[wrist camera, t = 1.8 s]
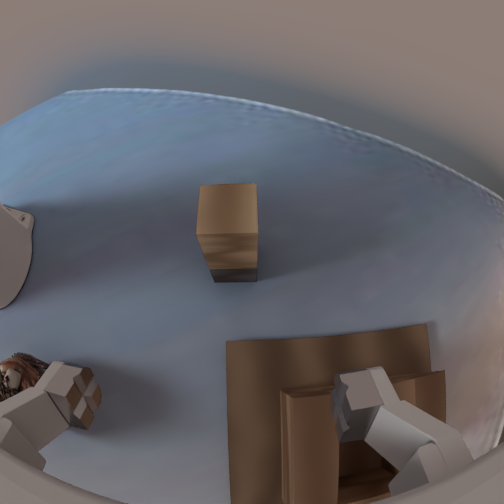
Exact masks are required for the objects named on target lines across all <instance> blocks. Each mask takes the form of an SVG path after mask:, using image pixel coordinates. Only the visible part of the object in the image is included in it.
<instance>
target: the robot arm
mask: <svg viewBox="0 0 504 504" xmlns="http://www.w3.org/2000/svg"><path fill="white" fill-rule="evenodd" d="M33 224H34V217H33V216H32V215H31V214H29V213H25V212H22V211H18V210H15V209H12V208H8V207H5V206H3V205H2V204H1V203H0V309H1V308H4V307H5V306H7V305H8V304H9V303H10V302H11V301H12V300H13V299H14V298H15V297H16V295H17V294H18V292H19V291H20V289H21V287H22V285H23V283H24V281H25V278H26V276H27V273H28V270H29V266H30V262H31V256H32V239H31V233H32V229H33ZM93 376H94V375H93V373H92V371H91V369H90V368H88V367H84V366H79V365H75V364H71V363H66V362H61V361H57V360H56V361H53V362H52V363H51V365H50V366H49V367H48V369H47V370H46V371H45V373H44V374H43V375H42V377H41V378H40V379H39V381H38V382H37V384H36V385H35V386H34V387H29V388H28V389H26V390H24V391H22V392H20V393H18V394H16V395H14V396H12V397H10V398H8V399H6V400H4V401H2V402H0V504H128V503H124V502H120V501H117V500H113V499H110V498H107V497H104V496H101V495H98V494H95V493H92V492H89V491H86V490H84V489H81V488H79V487H76V486H73V485H71V484H69V483H66V482H64V481H62V480H59V479H57V478H55V477H53V476H51V475H49V474H47V473H44V472H42V471H43V468H44V466H45V464H46V460H45V458H44V457H43V456H42V455H41V454H40V453H39V452H38V451H39V450H41V449H42V448H43V447H45V446H46V445H47V444H48V443H50V442H51V441H52V440H53V439H55V438H56V437H57V436H58V435H60V434H61V433H62V432H63V431H65V430H66V429H67V428H68V427H69V425H70V426H74V427H77V428H81V429H85V430H88V429H89V426H90V424H91V422H92V420H93V418H94V416H93V411H95V410H96V409H98V407H99V405H100V403H101V390H100V387H99V385H98V384H97V383H96V382H95V381H94V380H93V379H92V378H93ZM333 382H334V385H335V388H334V389H333V390H332V391H331V395H330V410H331V414H332V417H333V418H334V419H336V420H337V423H336V426H335V430H336V433H337V437H338V441H339V443H345V442H351V441H357V440H362V439H364V441H365V442H367V443H368V444H369V445H370V446H371V447H372V448H373V449H375V450H376V451H377V452H378V453H379V454H380V455H381V456H383V457H384V458H385V459H386V460H387V461H388V462H390V463H391V464H392V465H393V466H394V467H395V468H397V469H398V470H399V473H398V474H397V475H396V476H395V477H394V478H393V479H392V480H391V482H390V483H389V484H388V486H389V490H390V493H391V497H388V498H385V499H382V500H378V501H375V502H371V503H367V504H504V442H503V443H501V444H500V445H498V446H497V447H495V448H494V449H492V450H491V451H489V452H487V453H486V454H484V455H482V456H481V457H479V458H477V459H476V460H474V459H473V457H472V455H471V453H470V451H469V450H468V448H467V446H466V444H465V442H464V440H463V438H462V436H461V435H460V433H459V431H458V430H456V429H454V428H453V427H451V426H449V425H447V424H445V423H444V422H442V421H440V420H438V419H436V418H435V417H433V416H431V415H429V414H428V413H426V412H424V411H422V410H421V409H419V408H417V407H415V406H414V405H412V404H410V403H409V402H407V401H405V400H402V401H400V399H399V397H398V395H397V393H396V391H395V390H394V388H393V386H392V384H391V382H390V380H389V378H388V376H387V374H386V372H385V371H384V369H383V367H381V366H378V367H373V368H367V369H360V370H354V371H347V372H340V373H336V375H335V377H334V381H333Z"/></svg>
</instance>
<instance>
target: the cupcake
mask: <svg viewBox="0 0 504 504" xmlns="http://www.w3.org/2000/svg"><path fill="white" fill-rule="evenodd" d="M49 366H50V365H49V364H47V363H45V362H42V361H41V360H39V359H37V358H35V357H34V356H32V355H29V354H26V353H20V352H18V353H17V354H15V353H14V356H13V355H12V358H8V359H6V360H4V361H2V362H1V363H0V402H2V401H4V400H6V399H8V398H10V397H12V396H14V395H16V394H18V393H20V392H22V391H24V390H26V389H28V388H29V387H34V386H35V385H36V384H37V382H38V381H39V379H40V378H41V377H42V375H43V374H44V373H45V371H46V370H47V369H48V367H49Z"/></svg>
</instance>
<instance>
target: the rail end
mask: <svg viewBox="0 0 504 504" xmlns="http://www.w3.org/2000/svg"><path fill="white" fill-rule="evenodd" d="M196 236H197V238H198V241H199V243H200V246H201V249H202V251H203V254H204V256H205V259H206V262H207V264H208V267H209V269H210V272H211V274H212V277H213V279H214V282H257V253H258V215H257V190H256V183H248V184H218V185H200V194H199V205H198V216H197V229H196Z"/></svg>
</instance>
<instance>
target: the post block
mask: <svg viewBox="0 0 504 504" xmlns="http://www.w3.org/2000/svg"><path fill="white" fill-rule="evenodd" d="M378 366H381V367H383V369H384V371H385V372H386V374H387V376H388V378H389V380H390V382H391V384H392V386H393V388H394V390H395V391H396V393H397V395H398V397H399V399H400V401H402V400H405V401H407V402H409V403H410V404H412V405H414V406H415V407H417V408H419V409H421V410H422V411H424V412H426V413H428V414H429V415H431V416H433V417H435V418H436V419H438V420H440V421H442V422H444V423H445V424H446V386H445V370H443V371H435V372H431V362H430V351H429V341H428V333H427V325H426V324H422V325H416V326H409V327H403V328H396V329H389V330H382V331H374V332H366V333H357V334H348V335H338V336H327V337H314V338H299V339H281V340H253V341H226V371H227V419H228V450H229V474H230V494H231V504H367V503H371V502H375V501H378V500H382V499H385V498H388V497H391V493H390V490H389V486H388V484H389V483H390V482H391V480H392V479H393V478H394V477H395V476H396V475H397V474H398V473H399V470H398V469H397V468H395V467H394V466H393V465H392V464H391V463H390V462H388V461H387V460H386V459H385V458H384V457H383V456H381V455H380V454H379V453H378V452H377V451H376V450H375V449H373V448H372V447H371V446H370V445H369V444H368V443H367V442H365V441H364V439H362V440H357V441H351V442H345V443H339V441H338V437H337V433H336V430H335V426H336V423H337V420H336V419H334V418H333V417H332V414H331V410H330V395H331V391H332V390H333V389H334V388H335V385H334V382H333V381H334V377H335V375H336V373H340V372H347V371H354V370H360V369H367V368H373V367H378Z"/></svg>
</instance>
